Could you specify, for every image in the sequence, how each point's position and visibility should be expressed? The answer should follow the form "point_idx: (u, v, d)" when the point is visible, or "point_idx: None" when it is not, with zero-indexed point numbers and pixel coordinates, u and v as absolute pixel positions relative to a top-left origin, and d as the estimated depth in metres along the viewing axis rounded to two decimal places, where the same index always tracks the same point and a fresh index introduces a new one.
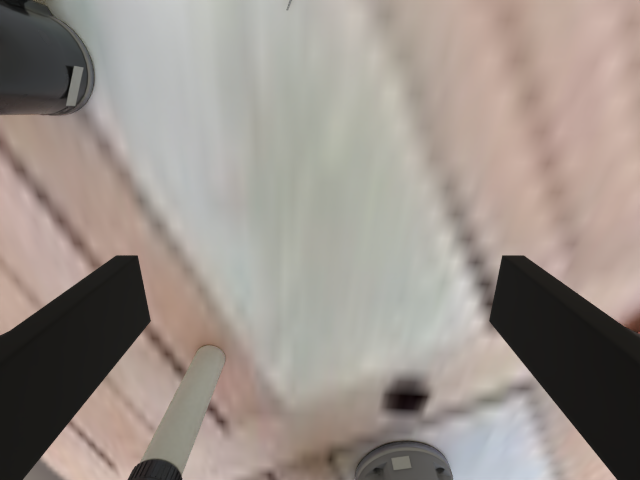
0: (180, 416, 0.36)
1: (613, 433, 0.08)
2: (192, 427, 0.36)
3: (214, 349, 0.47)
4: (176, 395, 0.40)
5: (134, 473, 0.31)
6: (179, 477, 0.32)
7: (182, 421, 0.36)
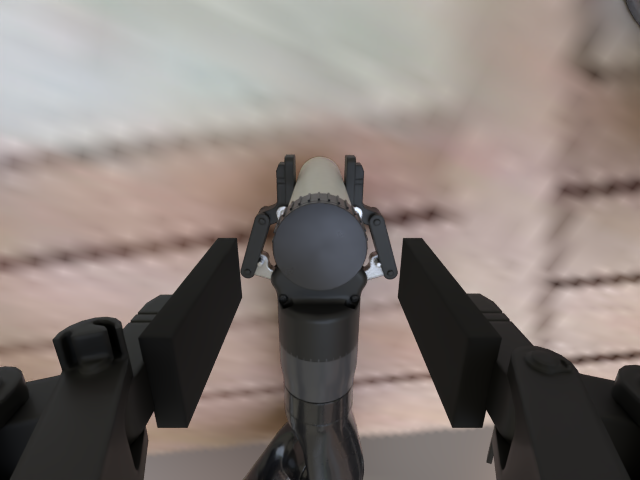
0: (294, 192, 0.22)
1: (444, 375, 0.09)
2: (314, 180, 0.22)
3: (305, 163, 0.33)
4: None
5: None
6: (328, 195, 0.17)
7: (297, 189, 0.22)
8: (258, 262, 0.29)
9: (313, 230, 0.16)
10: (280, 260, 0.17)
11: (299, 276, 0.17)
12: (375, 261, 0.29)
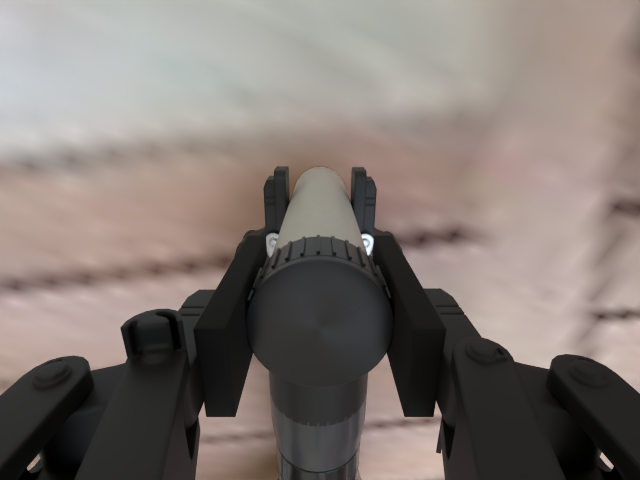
0: (284, 222, 0.16)
1: (399, 366, 0.10)
2: (312, 207, 0.16)
3: (301, 175, 0.27)
4: None
5: None
6: (333, 240, 0.11)
7: (288, 219, 0.16)
8: None
9: (309, 301, 0.10)
10: (257, 345, 0.11)
11: (287, 368, 0.11)
12: None
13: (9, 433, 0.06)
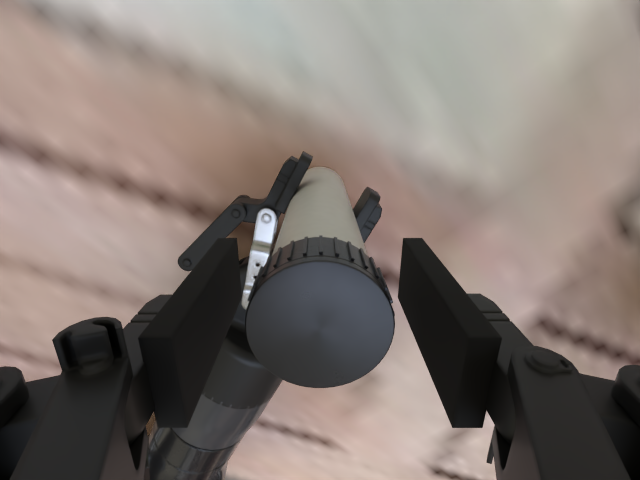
0: (299, 208, 0.16)
1: (444, 375, 0.09)
2: (333, 207, 0.16)
3: (312, 168, 0.27)
4: None
5: None
6: (262, 270, 0.11)
7: (307, 207, 0.16)
8: None
9: (287, 328, 0.10)
10: (317, 381, 0.11)
11: (352, 368, 0.11)
12: None
13: None
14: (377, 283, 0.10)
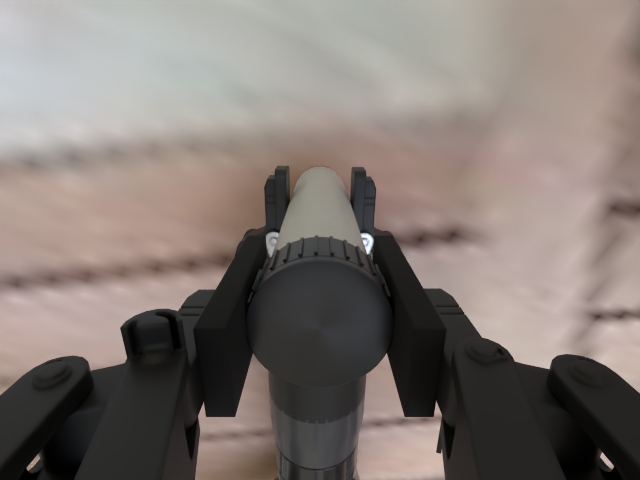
0: (285, 220, 0.17)
1: (399, 367, 0.10)
2: (312, 205, 0.16)
3: (302, 175, 0.27)
4: None
5: None
6: None
7: (289, 217, 0.16)
8: None
9: (291, 340, 0.10)
10: (346, 377, 0.11)
11: (370, 351, 0.11)
12: None
13: (9, 433, 0.06)
14: (346, 264, 0.10)
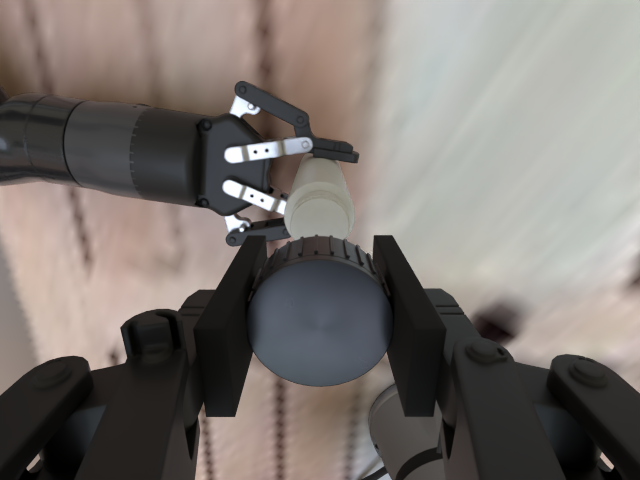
0: (339, 175, 0.24)
1: (399, 366, 0.10)
2: None
3: None
4: (314, 160, 0.27)
5: None
6: None
7: (344, 181, 0.23)
8: (253, 105, 0.26)
9: (291, 339, 0.11)
10: (346, 375, 0.11)
11: (370, 350, 0.11)
12: (244, 226, 0.30)
13: (9, 433, 0.06)
14: (346, 263, 0.10)
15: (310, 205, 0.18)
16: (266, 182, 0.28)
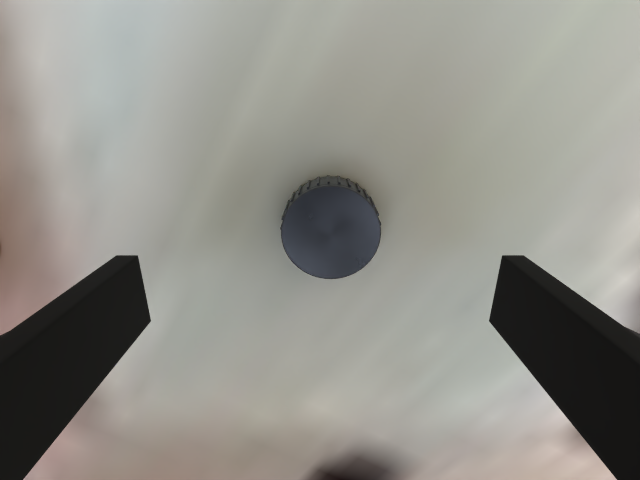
0: None
1: (612, 433, 0.08)
2: None
3: None
4: None
5: None
6: None
7: None
8: None
9: (311, 243, 0.16)
10: (348, 270, 0.16)
11: (364, 251, 0.16)
12: None
13: None
14: (348, 188, 0.15)
15: None
16: None
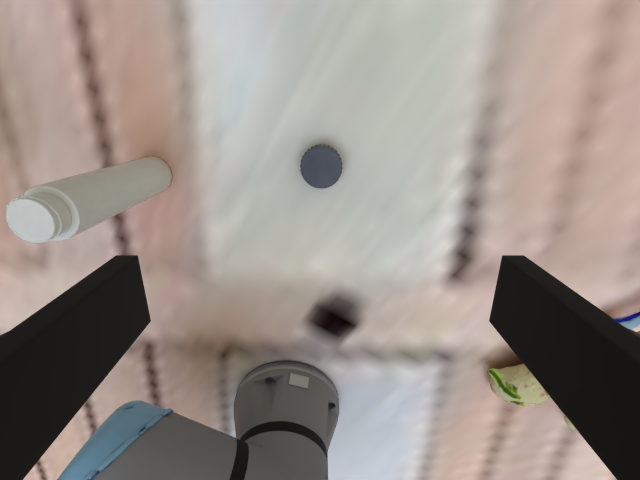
0: (103, 180, 0.28)
1: (613, 433, 0.08)
2: (112, 199, 0.28)
3: (164, 164, 0.39)
4: (104, 168, 0.31)
5: None
6: None
7: (104, 185, 0.28)
8: None
9: (313, 171, 0.38)
10: (329, 184, 0.38)
11: (335, 175, 0.38)
12: None
13: None
14: (328, 148, 0.37)
15: (17, 204, 0.22)
16: None
